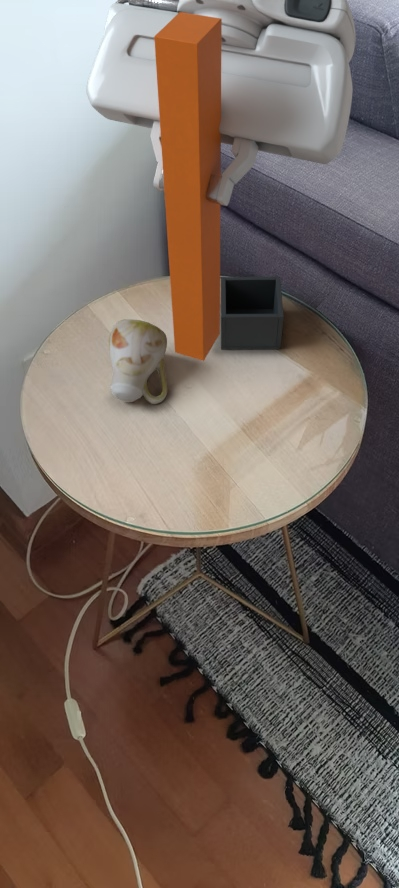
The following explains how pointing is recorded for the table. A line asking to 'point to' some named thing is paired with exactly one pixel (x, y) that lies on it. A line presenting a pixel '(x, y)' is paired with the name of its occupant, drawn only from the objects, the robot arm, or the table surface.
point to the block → (191, 173)
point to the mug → (136, 359)
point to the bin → (251, 313)
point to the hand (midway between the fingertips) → (190, 196)
